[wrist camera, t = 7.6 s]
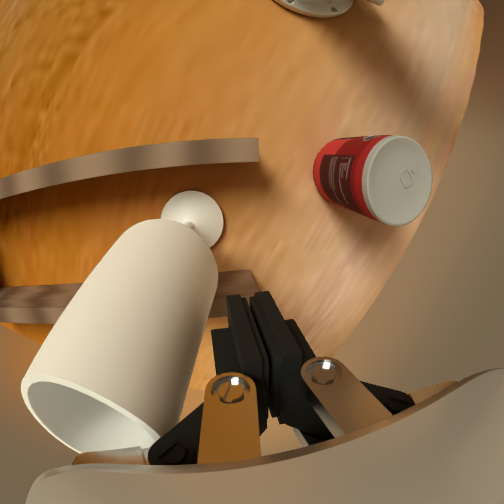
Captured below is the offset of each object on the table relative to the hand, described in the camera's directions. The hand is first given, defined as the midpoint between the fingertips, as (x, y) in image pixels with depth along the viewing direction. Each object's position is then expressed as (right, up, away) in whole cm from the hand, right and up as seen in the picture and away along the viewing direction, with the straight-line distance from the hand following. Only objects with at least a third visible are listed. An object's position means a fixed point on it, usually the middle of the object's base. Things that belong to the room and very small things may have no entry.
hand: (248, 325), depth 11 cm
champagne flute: (-6, +6, +17) cm, 19 cm away
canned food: (+10, +12, +19) cm, 25 cm away
